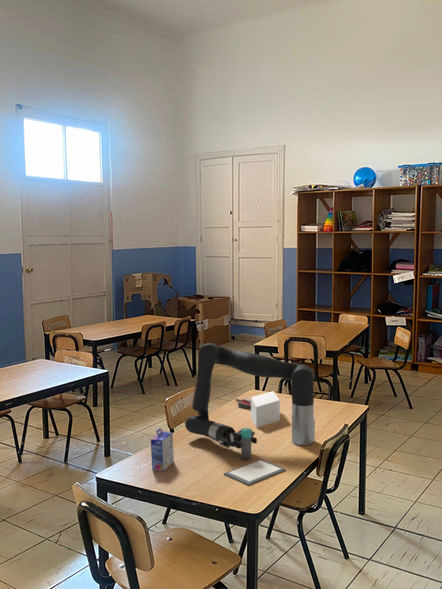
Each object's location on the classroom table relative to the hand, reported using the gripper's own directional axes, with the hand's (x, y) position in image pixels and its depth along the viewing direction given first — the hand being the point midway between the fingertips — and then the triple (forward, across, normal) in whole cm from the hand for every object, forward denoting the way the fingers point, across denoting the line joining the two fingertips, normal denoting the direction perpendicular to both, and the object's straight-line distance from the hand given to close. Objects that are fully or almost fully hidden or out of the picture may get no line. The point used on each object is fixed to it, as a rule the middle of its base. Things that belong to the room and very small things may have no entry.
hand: (248, 443), depth 231 cm
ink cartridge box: (-18, -29, +7) cm, 35 cm away
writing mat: (+11, -7, +7) cm, 14 cm away
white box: (-31, +42, +7) cm, 53 cm away
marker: (-1, 0, +7) cm, 7 cm away
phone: (-20, +16, +7) cm, 27 cm away
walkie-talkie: (-52, +50, +7) cm, 73 cm away
